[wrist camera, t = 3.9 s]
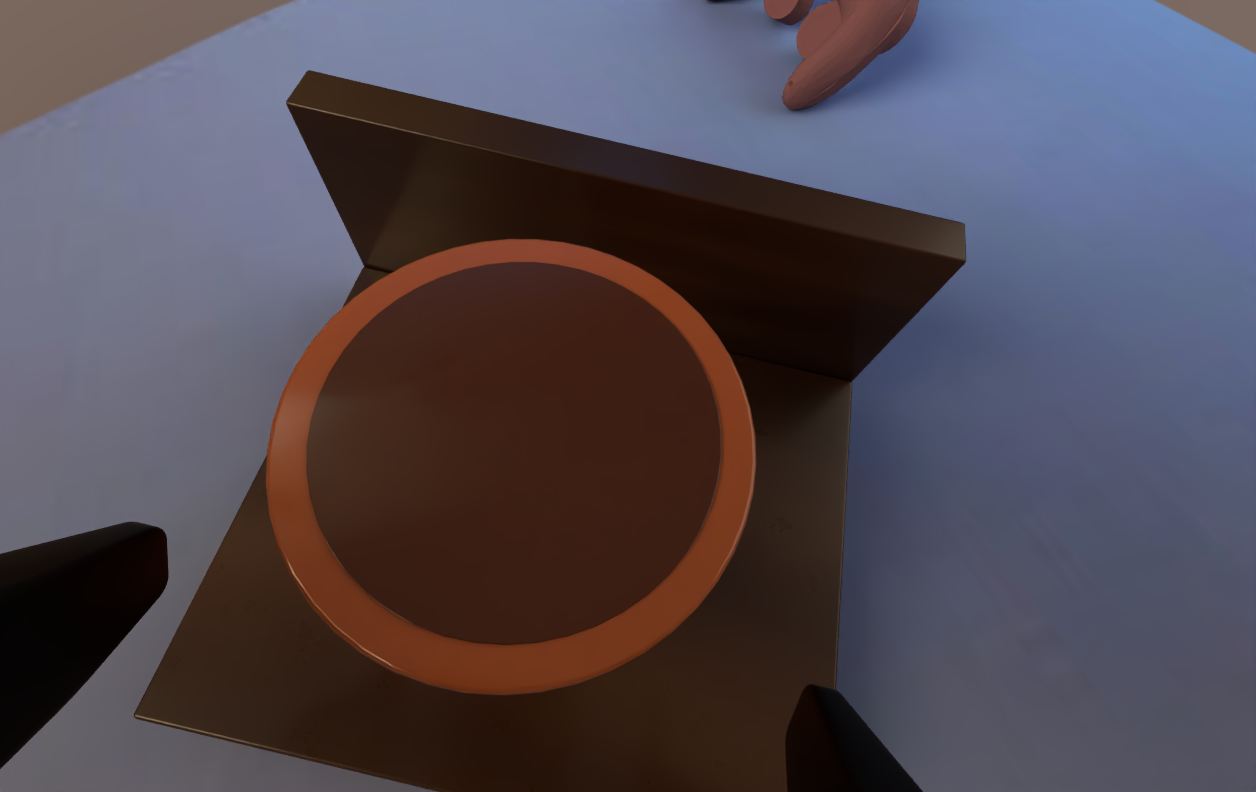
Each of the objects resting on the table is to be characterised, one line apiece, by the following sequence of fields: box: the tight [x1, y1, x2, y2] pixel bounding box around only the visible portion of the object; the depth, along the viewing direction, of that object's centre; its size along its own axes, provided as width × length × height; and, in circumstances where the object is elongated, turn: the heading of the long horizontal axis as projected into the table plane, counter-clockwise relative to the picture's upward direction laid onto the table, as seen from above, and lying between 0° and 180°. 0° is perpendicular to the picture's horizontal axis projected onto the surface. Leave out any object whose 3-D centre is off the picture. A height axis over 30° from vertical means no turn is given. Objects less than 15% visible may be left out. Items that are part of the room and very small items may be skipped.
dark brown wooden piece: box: [134, 70, 966, 792], centre depth 15 cm, size 14×16×8 cm
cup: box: [266, 239, 757, 696], centre depth 12 cm, size 6×6×9 cm
